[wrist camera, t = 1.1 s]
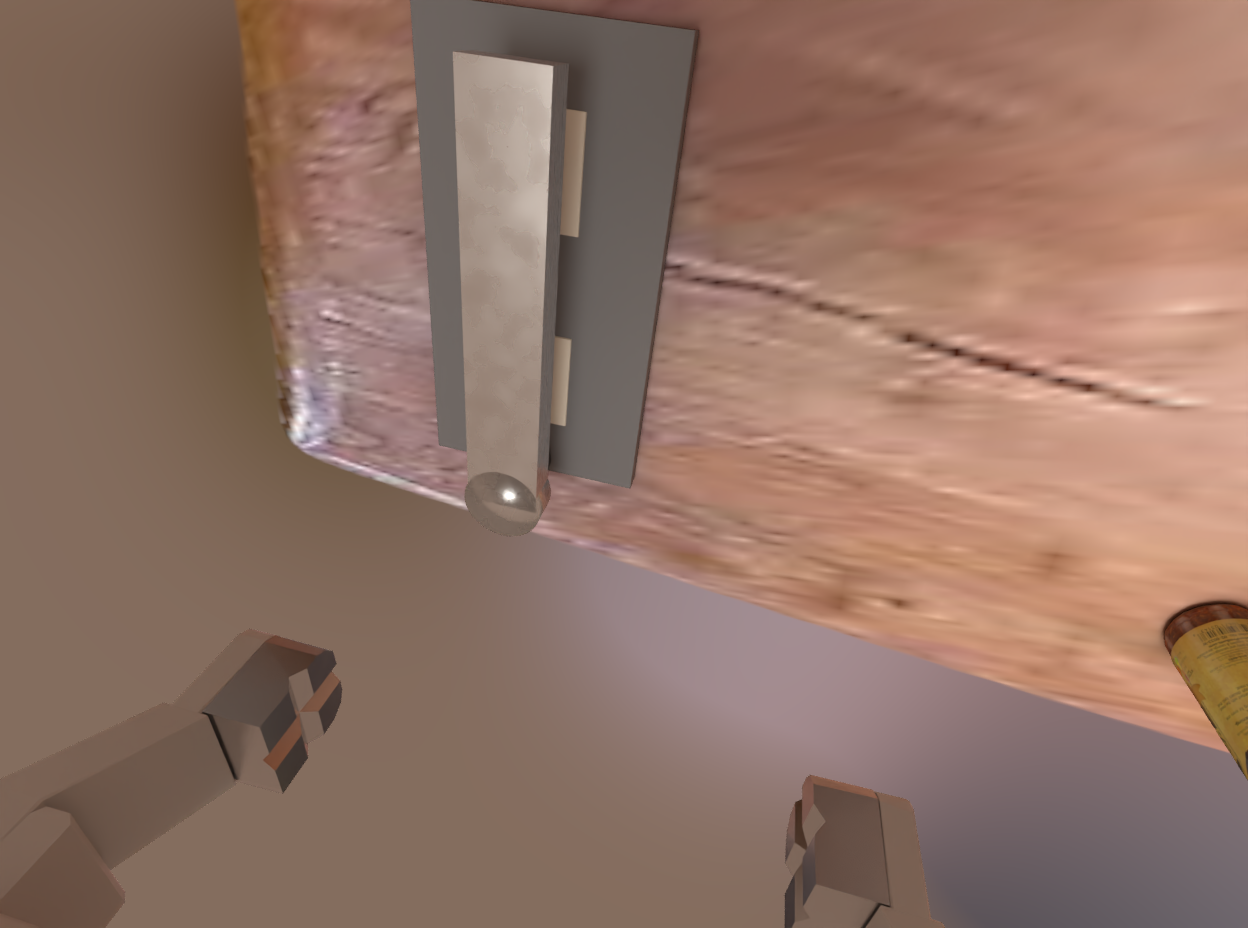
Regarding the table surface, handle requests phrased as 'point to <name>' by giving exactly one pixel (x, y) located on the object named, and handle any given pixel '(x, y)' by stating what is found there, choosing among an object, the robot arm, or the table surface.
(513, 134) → the grey flat bar
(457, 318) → the label board
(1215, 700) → the sauce bottle
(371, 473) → the table surface
